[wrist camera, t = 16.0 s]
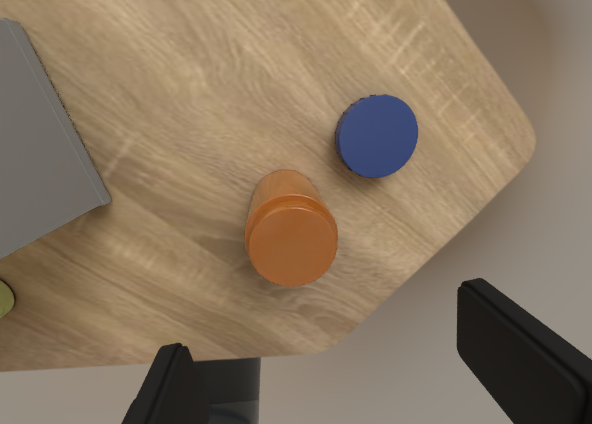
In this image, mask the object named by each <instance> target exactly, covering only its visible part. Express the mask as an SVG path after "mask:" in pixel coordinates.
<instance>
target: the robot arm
mask: <svg viewBox="0 0 592 424" xmlns="http://www.w3.org/2000/svg"><path fill="white" fill-rule="evenodd" d="M457 296H458V297H457V298H458V299H457V350H458V353H459V355H460V357H461V358H462V360H463V361H464V362H465V363H466V365H467V366H468V367H469V368H470V370H471V371H472V372H473V373H474V375H475V376H476V377H477V378H478V380H479V381H480V382H481V383H482V385H483V386H484V387H485V388H486V390H487V391H488V392H489V393H490V395H492V397H493V398H494V400H495V401H496V402H497V403H498V404H499V406H500V407H501V408H502V409H503V411H504V412H505V413H506V414H507V416H508V417H509V418H510V419H511V421H512V422H513V423H514V424H592V360H591V359H590V358H588V357H587V356H586V355H584V354H583V353H582V352H580V351H579V350H578V349H576V348H575V347H574V346H572V345H571V344H570V343H568V342H567V341H566V340H564V339H563V338H562V337H560V336H559V335H557V334H556V333H555V332H554V331H552V330H551V329H550V328H548V327H547V326H546V325H544V324H543V323H542V322H540V321H539V320H538V319H536V318H535V317H534V316H532V315H531V314H530V313H528V312H527V311H526V310H524V309H523V308H521V307H520V306H519V305H518V304H516V303H515V302H514V301H512V300H511V299H509V298H508V297H507V296H505V295H504V294H503V293H501V292H500V291H499V290H498V289H496V288H495V287H493V286H492V285H491V284H489V283H488V282H487V281H485V280H484V279H482V278H477V279H473V280H468V281H464V282H462V284H461V287H459V288H458V295H457ZM210 411H211V408H210V402H209V399H208V396H207V394H206V391H205V389H204V386H203V384H202V381H201V379H200V377H199V374H198V372H197V369H196V367H195V364H194V362H193V359H192V357H191V354H190V352H189V349H188V347H187V346H182V344H181V343H175V344H170V345H166V346H162V347H161V348H160V349H159V351H158V353H157V355H156V357H155V359H154V361H153V363H152V365H151V368H150V370H149V372H148V374H147V376H146V378H145V381H144V382H143V385H142V387H141V389H140V391H139V393H138V395H137V397H136V399H135V400H134V401H133V402H132V404H131V405H130V407H129V409H128V411H127V413H126V416H125V418H124V420H123V422H122V424H208V423H209V418H210Z"/></svg>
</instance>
